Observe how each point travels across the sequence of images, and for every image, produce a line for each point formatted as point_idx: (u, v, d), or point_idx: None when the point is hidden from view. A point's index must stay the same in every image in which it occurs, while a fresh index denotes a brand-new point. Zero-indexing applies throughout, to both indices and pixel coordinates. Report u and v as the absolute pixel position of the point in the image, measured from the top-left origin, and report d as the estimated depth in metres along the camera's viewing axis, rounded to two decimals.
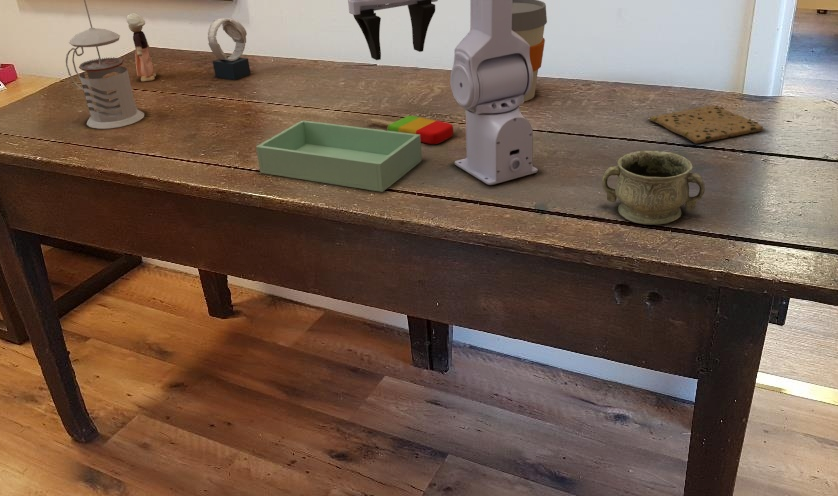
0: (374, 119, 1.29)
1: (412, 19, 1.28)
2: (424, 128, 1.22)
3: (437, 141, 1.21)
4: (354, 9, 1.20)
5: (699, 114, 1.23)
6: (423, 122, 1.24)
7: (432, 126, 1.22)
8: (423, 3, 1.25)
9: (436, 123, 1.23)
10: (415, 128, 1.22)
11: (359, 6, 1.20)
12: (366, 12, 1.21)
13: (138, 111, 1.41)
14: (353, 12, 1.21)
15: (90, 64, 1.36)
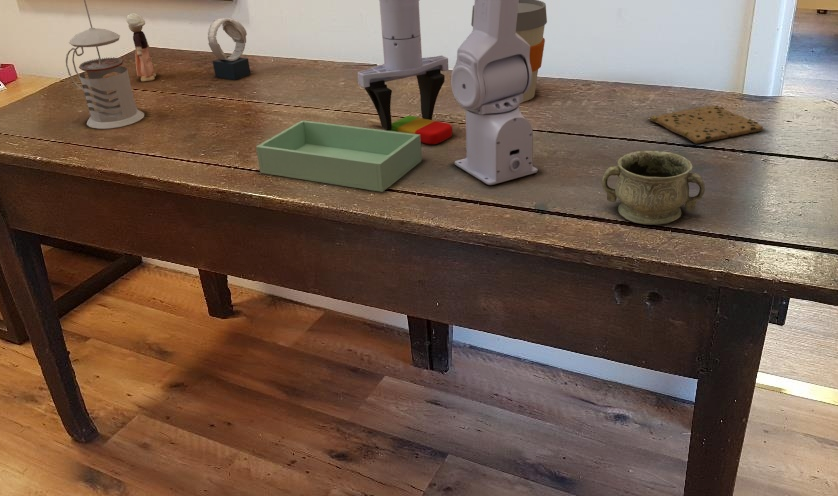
0: (373, 119, 1.29)
1: (420, 88, 1.25)
2: (423, 128, 1.22)
3: (436, 141, 1.20)
4: (363, 82, 1.18)
5: (699, 114, 1.23)
6: (422, 122, 1.24)
7: (431, 126, 1.22)
8: (432, 73, 1.23)
9: (435, 123, 1.23)
10: (414, 128, 1.22)
11: (369, 79, 1.18)
12: (377, 84, 1.19)
13: (138, 111, 1.41)
14: (362, 85, 1.18)
15: (90, 64, 1.36)
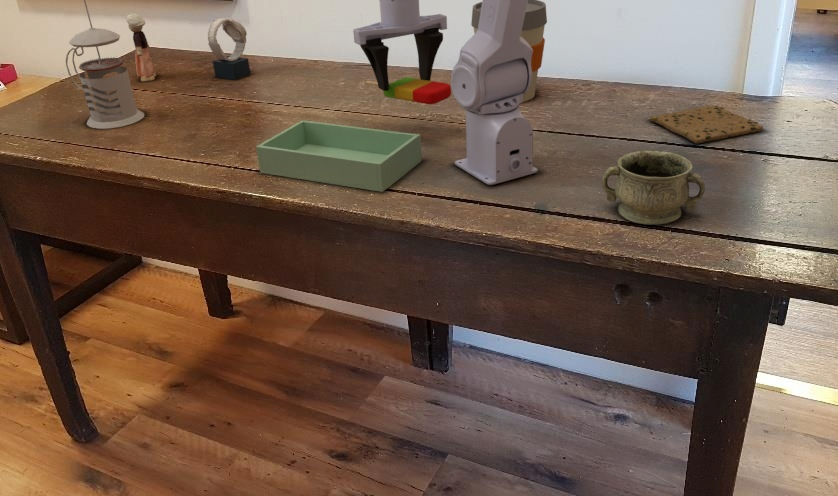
0: (369, 81, 1.26)
1: (418, 48, 1.22)
2: (421, 88, 1.18)
3: (434, 101, 1.17)
4: (360, 39, 1.14)
5: (699, 114, 1.23)
6: (420, 82, 1.21)
7: (430, 86, 1.19)
8: (430, 32, 1.19)
9: (433, 84, 1.20)
10: (412, 88, 1.19)
11: (365, 36, 1.14)
12: (373, 41, 1.16)
13: (138, 111, 1.41)
14: (358, 42, 1.15)
15: (90, 64, 1.36)
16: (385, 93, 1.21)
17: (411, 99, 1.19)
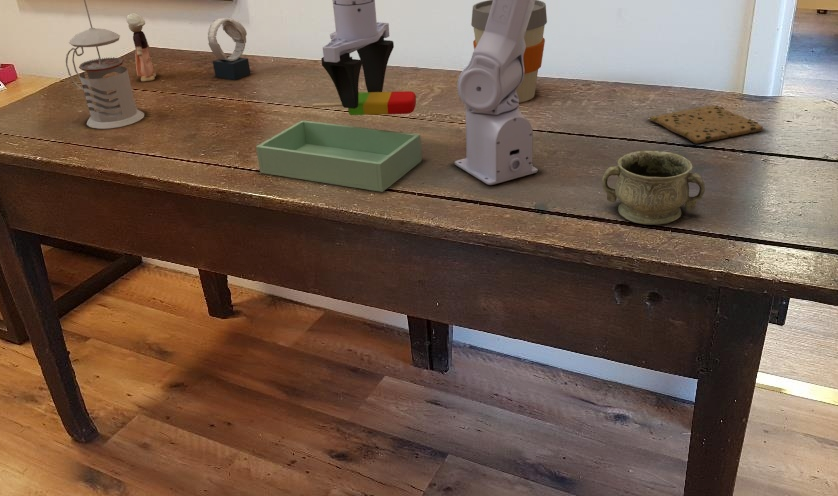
0: (316, 104, 1.16)
1: (364, 60, 1.16)
2: (392, 99, 1.13)
3: (412, 109, 1.13)
4: (336, 56, 1.05)
5: (699, 114, 1.23)
6: (381, 94, 1.15)
7: (397, 96, 1.14)
8: (379, 41, 1.14)
9: (396, 93, 1.15)
10: (383, 100, 1.13)
11: (339, 52, 1.06)
12: (344, 57, 1.07)
13: (138, 111, 1.41)
14: (334, 59, 1.05)
15: (90, 64, 1.36)
16: (350, 111, 1.13)
17: (385, 112, 1.13)
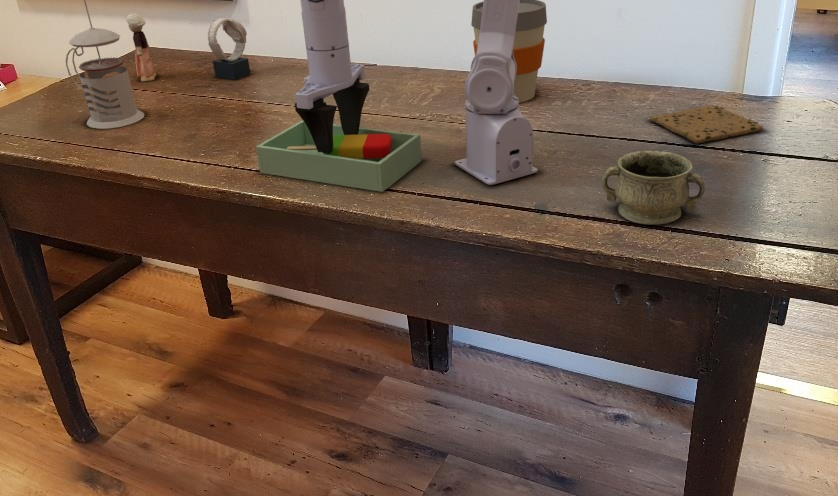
0: (291, 147, 1.14)
1: (339, 103, 1.14)
2: (368, 143, 1.11)
3: (388, 153, 1.11)
4: (309, 103, 1.03)
5: (699, 114, 1.23)
6: (356, 138, 1.14)
7: (373, 139, 1.13)
8: (354, 84, 1.12)
9: (372, 137, 1.14)
10: (358, 144, 1.11)
11: (312, 98, 1.04)
12: (318, 103, 1.05)
13: (138, 111, 1.41)
14: (307, 106, 1.04)
15: (90, 64, 1.36)
16: None
17: (361, 156, 1.11)
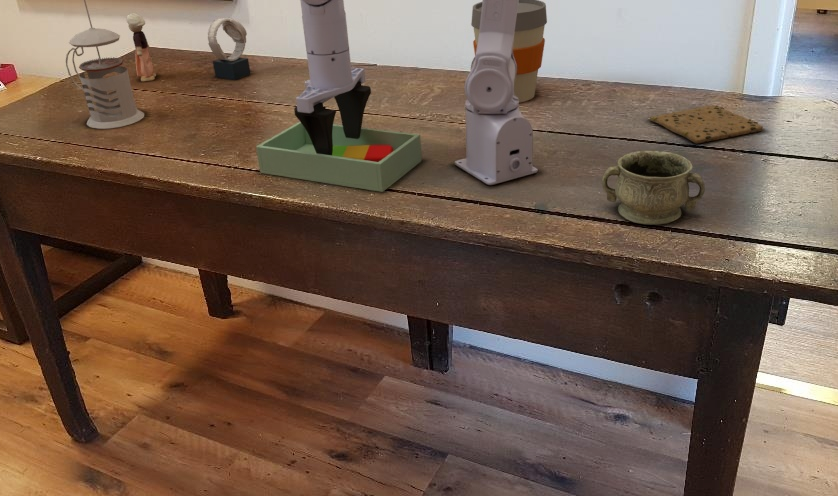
0: None
1: (341, 105, 1.14)
2: (369, 154, 1.12)
3: None
4: (309, 107, 1.04)
5: (699, 114, 1.23)
6: (358, 149, 1.14)
7: (375, 151, 1.13)
8: (356, 87, 1.13)
9: (374, 147, 1.14)
10: (360, 156, 1.12)
11: (313, 102, 1.04)
12: (318, 107, 1.06)
13: (138, 111, 1.41)
14: (308, 110, 1.04)
15: (90, 64, 1.36)
16: None
17: None
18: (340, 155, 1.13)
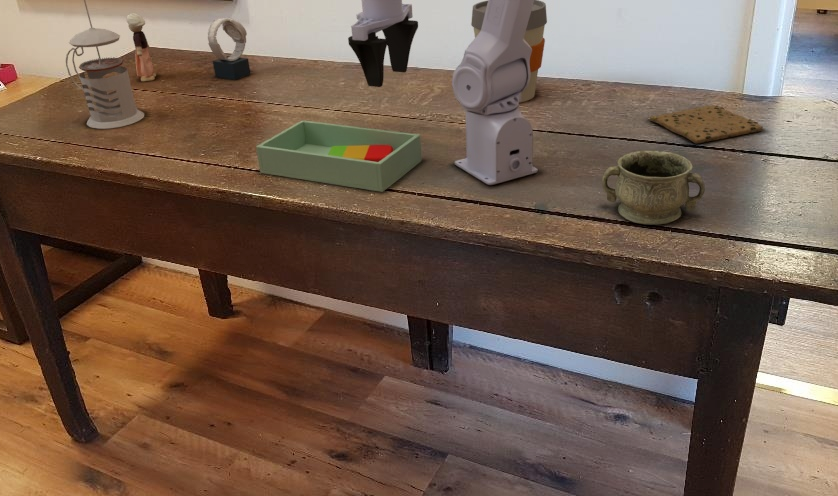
0: None
1: (389, 40, 1.20)
2: (369, 154, 1.12)
3: None
4: (364, 34, 1.09)
5: (699, 114, 1.23)
6: (358, 149, 1.14)
7: (375, 151, 1.13)
8: (404, 21, 1.18)
9: (374, 148, 1.14)
10: (360, 156, 1.12)
11: (367, 30, 1.09)
12: (371, 36, 1.11)
13: (138, 111, 1.41)
14: (362, 38, 1.09)
15: (90, 64, 1.36)
16: None
17: None
18: (340, 155, 1.13)
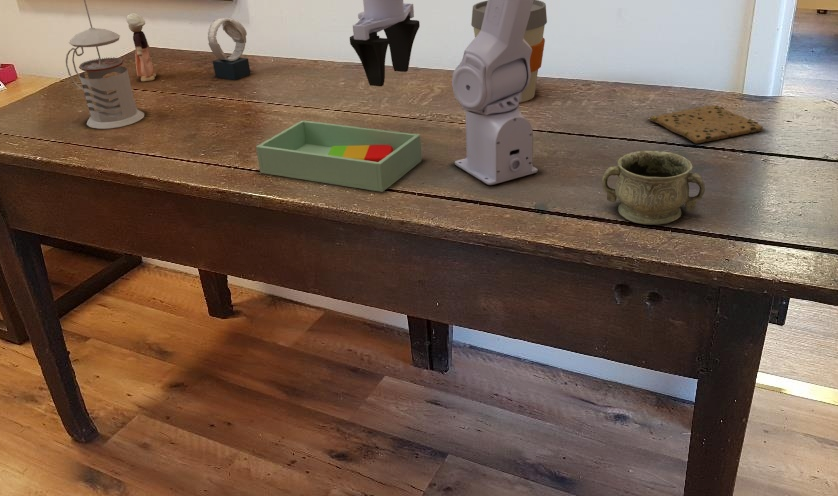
0: None
1: (391, 39, 1.20)
2: (369, 154, 1.12)
3: None
4: (365, 34, 1.09)
5: (699, 114, 1.23)
6: (358, 149, 1.14)
7: (375, 151, 1.13)
8: (405, 20, 1.19)
9: (374, 147, 1.14)
10: (360, 156, 1.12)
11: (369, 30, 1.10)
12: (372, 36, 1.11)
13: (138, 111, 1.41)
14: (364, 37, 1.10)
15: (90, 64, 1.36)
16: None
17: None
18: (340, 155, 1.13)
